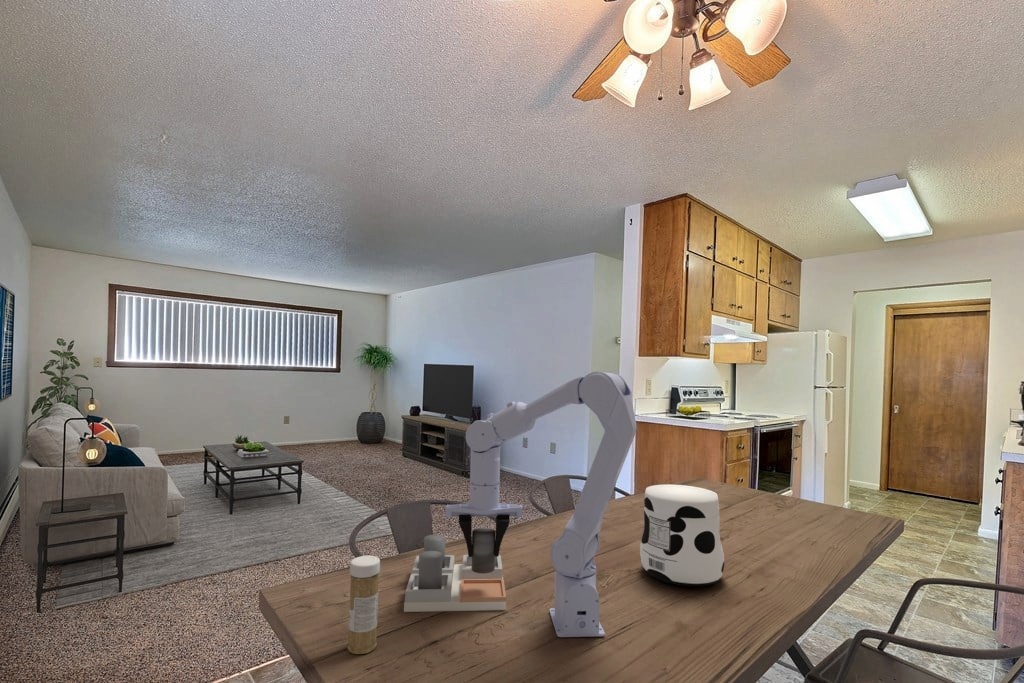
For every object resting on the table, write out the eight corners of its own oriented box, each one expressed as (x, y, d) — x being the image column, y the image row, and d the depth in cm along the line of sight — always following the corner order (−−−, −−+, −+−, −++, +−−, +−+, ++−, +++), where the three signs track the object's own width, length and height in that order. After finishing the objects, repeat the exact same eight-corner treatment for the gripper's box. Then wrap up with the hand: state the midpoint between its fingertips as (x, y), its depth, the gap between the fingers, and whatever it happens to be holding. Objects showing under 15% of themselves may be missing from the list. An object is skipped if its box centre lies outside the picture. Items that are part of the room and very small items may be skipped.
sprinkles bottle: (350, 640, 81) (353, 554, 82) (379, 639, 82) (382, 554, 83) (344, 656, 77) (347, 565, 78) (374, 655, 77) (377, 564, 78)
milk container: (719, 566, 116) (718, 486, 117) (730, 599, 99) (729, 505, 100) (640, 558, 120) (640, 481, 121) (638, 587, 104) (638, 497, 105)
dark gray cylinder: (495, 573, 95) (495, 535, 95) (471, 573, 95) (472, 535, 95) (494, 564, 99) (494, 528, 100) (471, 564, 99) (472, 528, 99)
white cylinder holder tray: (505, 610, 93) (506, 562, 93) (403, 611, 91) (405, 563, 92) (500, 570, 111) (501, 531, 111) (415, 571, 110) (416, 531, 110)
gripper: (520, 478, 102) (519, 547, 102) (448, 478, 101) (446, 547, 101) (523, 486, 95) (522, 560, 95) (446, 486, 94) (444, 561, 93)
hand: (483, 554), depth 97 cm, fingers closed on dark gray cylinder, 4 cm apart
